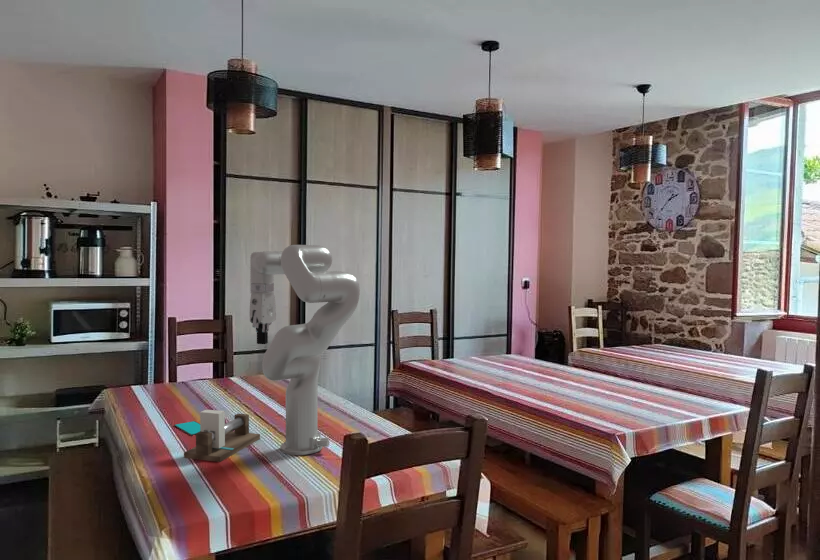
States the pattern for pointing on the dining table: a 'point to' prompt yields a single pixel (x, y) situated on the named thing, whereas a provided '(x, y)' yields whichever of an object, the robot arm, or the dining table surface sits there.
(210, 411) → the collar
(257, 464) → the dining table surface
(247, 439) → the pipe rig
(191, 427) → the smartphone
